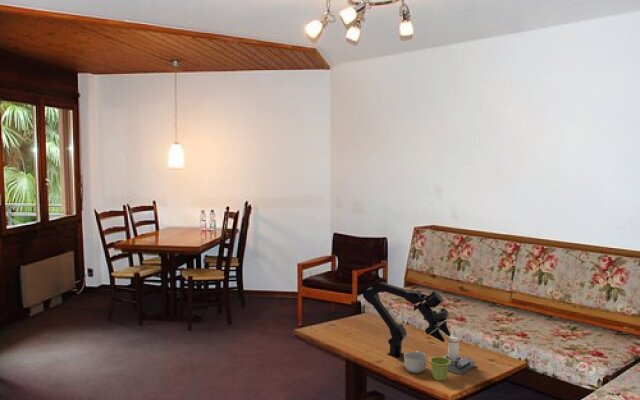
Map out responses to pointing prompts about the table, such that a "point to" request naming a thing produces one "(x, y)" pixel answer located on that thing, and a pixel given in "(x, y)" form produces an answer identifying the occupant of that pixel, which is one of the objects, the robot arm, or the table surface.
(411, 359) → the teacup
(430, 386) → the table surface
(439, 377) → the plant pot
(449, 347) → the white tall cylinder
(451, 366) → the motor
